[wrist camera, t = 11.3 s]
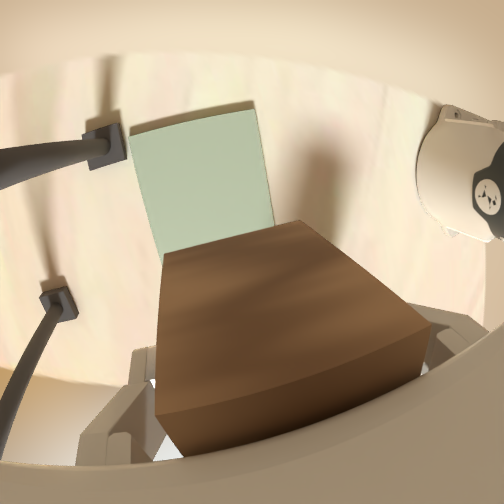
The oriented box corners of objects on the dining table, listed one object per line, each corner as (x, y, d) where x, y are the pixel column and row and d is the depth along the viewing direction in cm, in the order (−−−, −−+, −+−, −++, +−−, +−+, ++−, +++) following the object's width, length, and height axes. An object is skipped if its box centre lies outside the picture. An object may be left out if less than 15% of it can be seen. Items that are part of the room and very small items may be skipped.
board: (252, 109, 27) (254, 108, 27) (276, 250, 33) (278, 253, 33) (129, 136, 26) (128, 137, 25) (167, 278, 32) (167, 281, 31)
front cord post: (119, 123, 25) (-43, 105, 4) (127, 158, 27) (-15, 234, 6) (85, 134, 25) (-103, 159, 4) (93, 169, 26) (-77, 265, 5)
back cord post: (66, 286, 30) (-19, 463, 8) (78, 313, 31) (18, 493, 10) (42, 292, 29) (-47, 456, 8) (55, 318, 30) (-13, 486, 9)
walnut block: (299, 220, 11) (431, 324, 5) (311, 328, 13) (394, 452, 7) (163, 253, 11) (154, 415, 4) (200, 359, 12) (228, 510, 6)
